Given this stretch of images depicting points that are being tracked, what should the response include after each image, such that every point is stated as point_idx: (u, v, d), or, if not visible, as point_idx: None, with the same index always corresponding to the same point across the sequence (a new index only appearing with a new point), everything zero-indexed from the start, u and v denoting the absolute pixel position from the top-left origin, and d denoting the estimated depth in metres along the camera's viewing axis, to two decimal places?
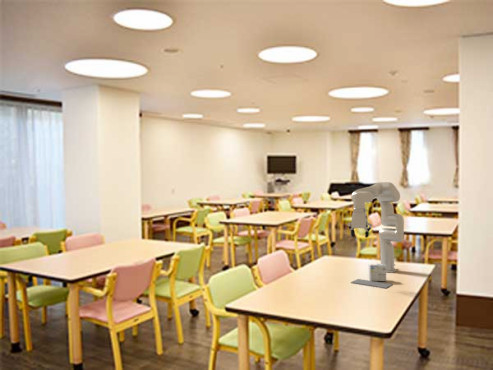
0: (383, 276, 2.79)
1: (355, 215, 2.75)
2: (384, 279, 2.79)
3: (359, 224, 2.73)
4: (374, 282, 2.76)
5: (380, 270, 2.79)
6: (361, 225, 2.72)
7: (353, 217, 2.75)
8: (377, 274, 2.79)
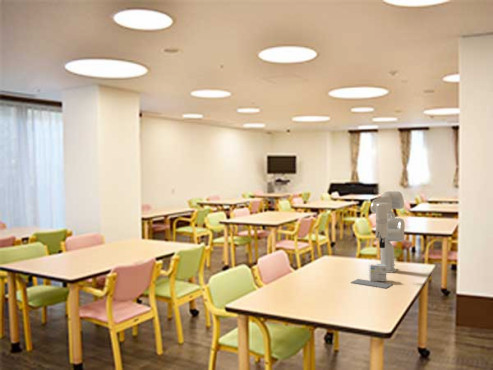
0: (384, 276, 2.79)
1: (384, 225, 2.85)
2: (384, 279, 2.79)
3: (385, 233, 2.88)
4: (374, 282, 2.76)
5: (380, 270, 2.79)
6: (386, 234, 2.89)
7: (383, 227, 2.85)
8: (377, 275, 2.79)
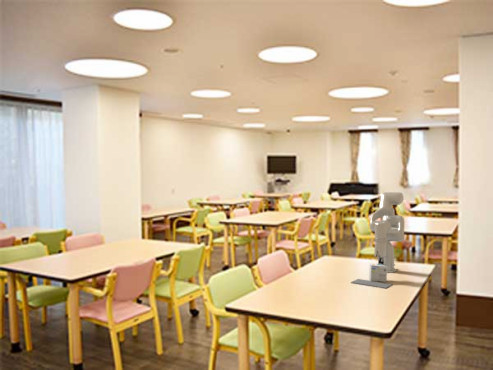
0: (384, 277, 2.79)
1: (383, 245, 2.84)
2: (384, 280, 2.79)
3: (384, 253, 2.86)
4: (374, 282, 2.76)
5: (381, 271, 2.78)
6: (385, 253, 2.87)
7: (382, 246, 2.83)
8: (377, 275, 2.79)
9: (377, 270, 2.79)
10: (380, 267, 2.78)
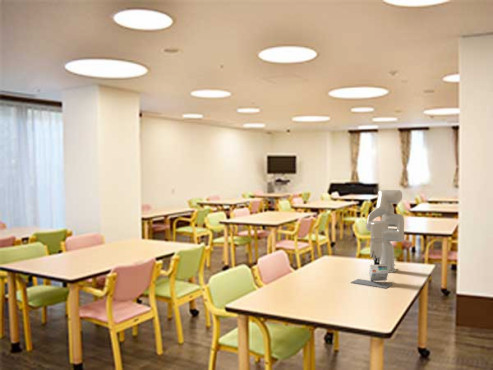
0: (384, 278, 2.76)
1: (379, 245, 2.78)
2: (384, 279, 2.78)
3: (380, 253, 2.80)
4: (374, 282, 2.76)
5: (382, 275, 2.73)
6: (381, 254, 2.81)
7: (378, 247, 2.77)
8: (377, 278, 2.76)
9: (378, 275, 2.74)
10: (381, 273, 2.72)
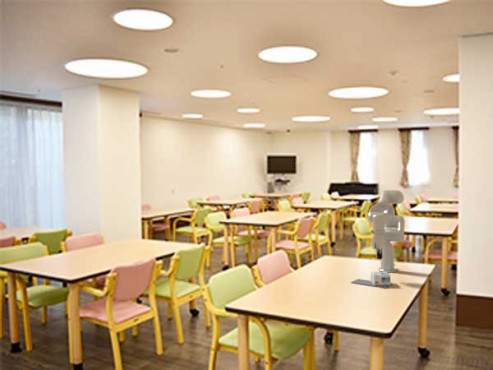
0: None
1: (381, 237, 2.82)
2: None
3: (383, 244, 2.84)
4: None
5: None
6: (383, 245, 2.86)
7: (380, 239, 2.81)
8: None
9: None
10: None
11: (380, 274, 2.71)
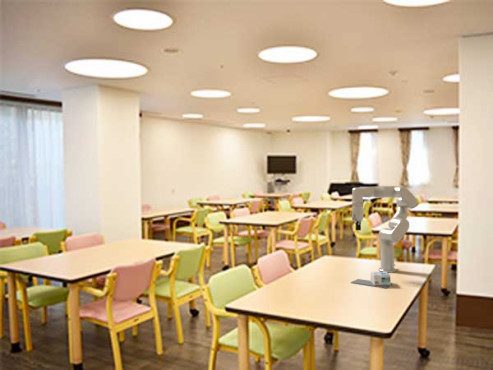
0: None
1: (360, 208, 2.98)
2: None
3: (361, 216, 3.00)
4: None
5: None
6: (362, 217, 3.01)
7: (359, 210, 2.97)
8: None
9: None
10: None
11: (380, 274, 2.71)
